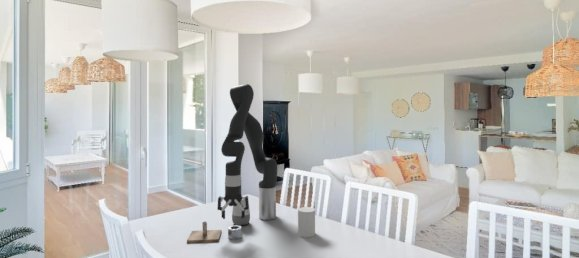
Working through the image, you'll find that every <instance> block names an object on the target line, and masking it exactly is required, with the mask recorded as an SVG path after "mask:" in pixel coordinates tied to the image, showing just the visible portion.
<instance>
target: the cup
mask: <svg viewBox="0 0 579 258" xmlns="http://www.w3.org/2000/svg"><path fill="white" fill-rule="evenodd" d="M315 235H316V209H315V207H311V206H302V207H299V208H298V209H297V236H299V237H301V238H312V237H315Z"/></svg>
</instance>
